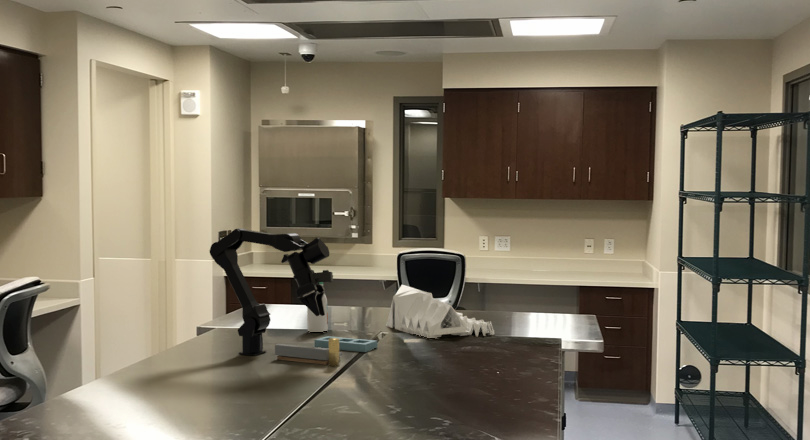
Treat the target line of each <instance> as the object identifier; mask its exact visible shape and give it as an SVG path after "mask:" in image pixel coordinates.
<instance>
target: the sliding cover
mask: <svg viewBox="0 0 810 440" xmlns="http://www.w3.org/2000/svg"><path fill="white" fill-rule="evenodd" d="M274 355H275V356H279V355H280V356H289V357H298V358H308V359H317V360H329V349H328V348H318V347H315V346H305V345H298V344H296V345H295V344H287V343H286V344H285V343H276V344H274ZM342 355H343V352H340V351H339V357H341V356H342Z"/></svg>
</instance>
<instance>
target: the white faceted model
mask: <svg viewBox="0 0 810 440" xmlns="http://www.w3.org/2000/svg"><path fill="white" fill-rule="evenodd" d="M463 315H464V314H463V312H457V311H456V310H455V309H454V308H453V306H452V304H449V303H445V302H444V301H442V300H439V299H436V298H434V297H433V294H432V292H429V291H428V292H427V291H424V290H421V289H417V288H415V287H412V286H408V285H404V284H401V285H400V286H399V288H398V290H397V291H396V293H394V295H393V296H392V301H391V305H390V310H389V314H388V317H387V322H386V324H385V327H387V328H391V329H393V328H394V330H398V331H401V332H404V333H408V334H411V335H413V334H416V335H415V336H417V335H419V336H418V337H421V336H424V337H427V338H435V339H438V338H437V337H442V335H451V336H460V337H461V336H471V335H472V334H473V332H474V334H475V337H477V338H478V337H479V333H482V335H483V337H486V336H487V335H486V334H489V335H490V336H493V335H495V330H494V327H493V324H492V321H491V320H490V321H485V320H484V319H479V320H476V317H471V318H468V316H467V315H464V316H463ZM420 335H421V336H420ZM424 337H423V338H424ZM427 338H426V339H427Z"/></svg>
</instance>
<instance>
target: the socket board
mask: <svg viewBox="0 0 810 440" xmlns="http://www.w3.org/2000/svg"><path fill="white" fill-rule="evenodd" d="M330 338H339V351H340V350H341V351H348V352H350V351H351V352H352V351H353V352H360V353H367V352H370V351H372V349H373V350H375V349H374V348H376V349H378V340H374V339H364V338H351V337H339V336H328V335H327V336H324V337H320V338H319V337H318V338H316V339H314V347H321V348H329V339H330Z"/></svg>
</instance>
